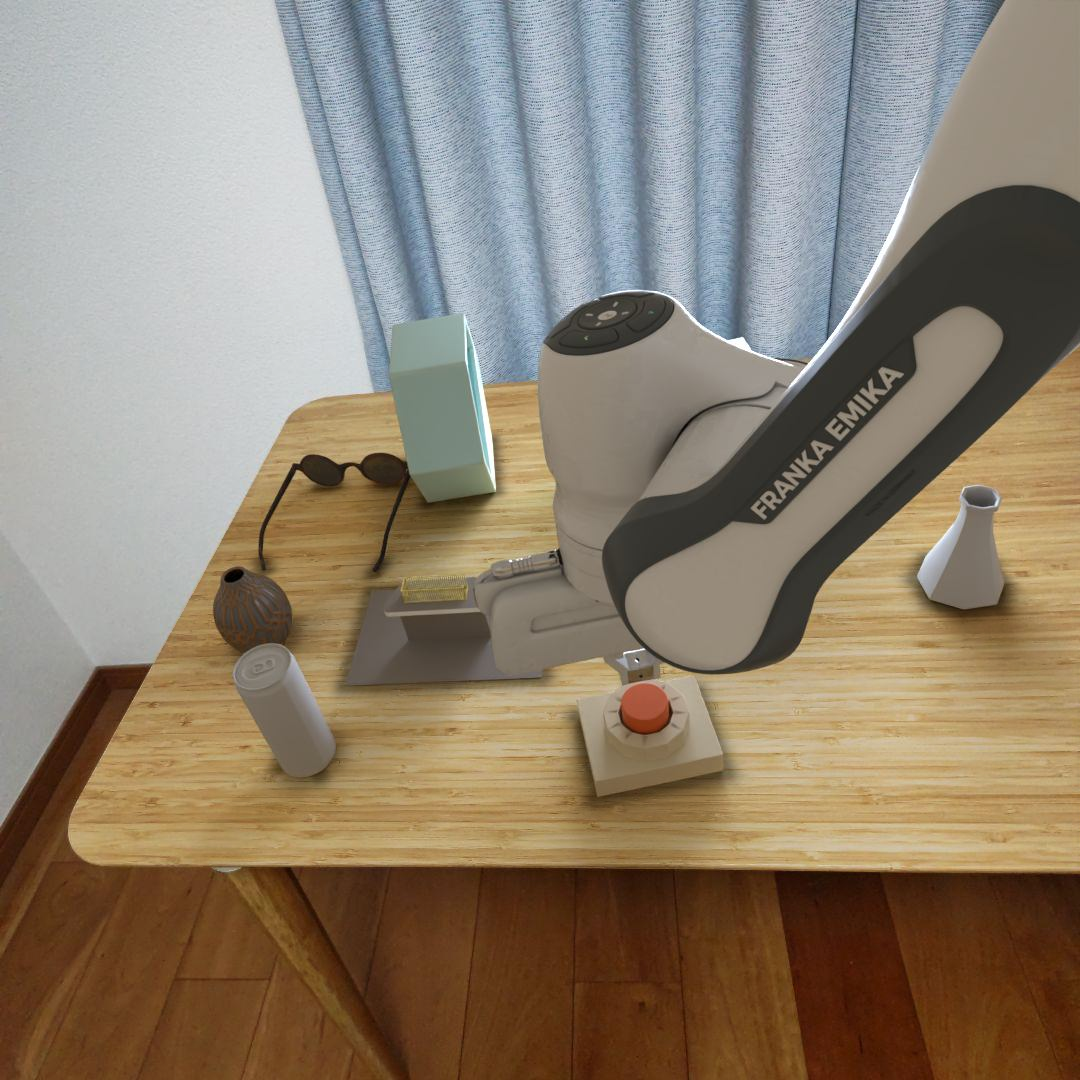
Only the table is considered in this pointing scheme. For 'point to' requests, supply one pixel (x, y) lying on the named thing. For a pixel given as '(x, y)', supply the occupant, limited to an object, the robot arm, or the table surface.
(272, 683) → the beverage can
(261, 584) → the vase
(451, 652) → the platform
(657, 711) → the button
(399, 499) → the eyeglasses
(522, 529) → the table surface
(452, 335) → the planter
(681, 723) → the block
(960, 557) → the flask
